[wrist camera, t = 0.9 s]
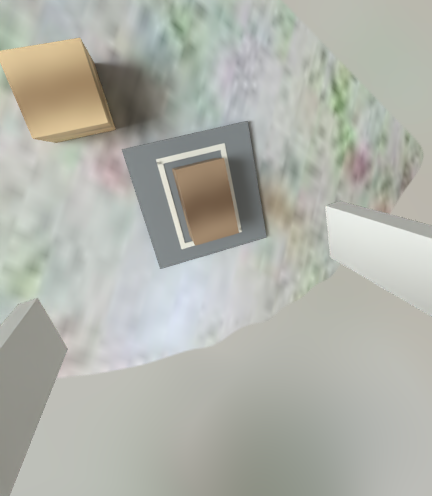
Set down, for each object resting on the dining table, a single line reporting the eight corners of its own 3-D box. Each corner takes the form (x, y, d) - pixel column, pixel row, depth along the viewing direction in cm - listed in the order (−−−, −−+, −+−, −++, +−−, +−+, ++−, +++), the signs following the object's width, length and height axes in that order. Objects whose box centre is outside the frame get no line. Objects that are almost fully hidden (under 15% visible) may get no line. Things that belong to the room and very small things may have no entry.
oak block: (28, 75, 25) (-5, 51, 20) (94, 63, 26) (80, 37, 21) (56, 142, 28) (32, 138, 22) (115, 129, 28) (108, 122, 23)
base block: (171, 168, 30) (175, 169, 26) (214, 157, 31) (224, 157, 27) (189, 236, 33) (195, 245, 29) (229, 224, 34) (239, 233, 30)
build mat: (122, 149, 29) (121, 149, 28) (245, 121, 31) (247, 120, 30) (160, 267, 34) (160, 269, 33) (264, 236, 36) (266, 237, 35)
